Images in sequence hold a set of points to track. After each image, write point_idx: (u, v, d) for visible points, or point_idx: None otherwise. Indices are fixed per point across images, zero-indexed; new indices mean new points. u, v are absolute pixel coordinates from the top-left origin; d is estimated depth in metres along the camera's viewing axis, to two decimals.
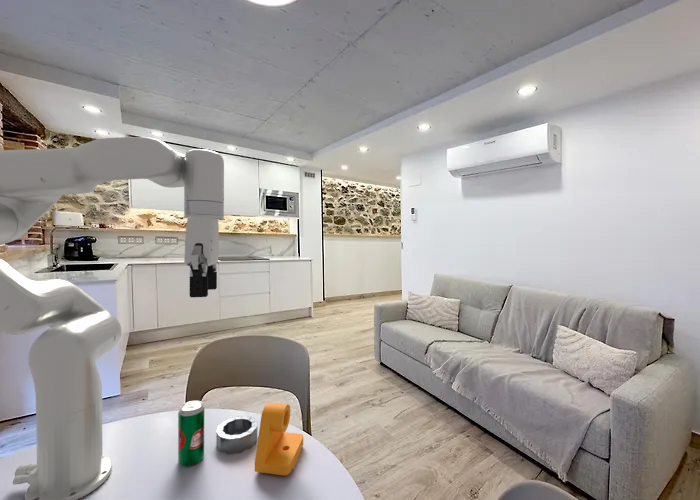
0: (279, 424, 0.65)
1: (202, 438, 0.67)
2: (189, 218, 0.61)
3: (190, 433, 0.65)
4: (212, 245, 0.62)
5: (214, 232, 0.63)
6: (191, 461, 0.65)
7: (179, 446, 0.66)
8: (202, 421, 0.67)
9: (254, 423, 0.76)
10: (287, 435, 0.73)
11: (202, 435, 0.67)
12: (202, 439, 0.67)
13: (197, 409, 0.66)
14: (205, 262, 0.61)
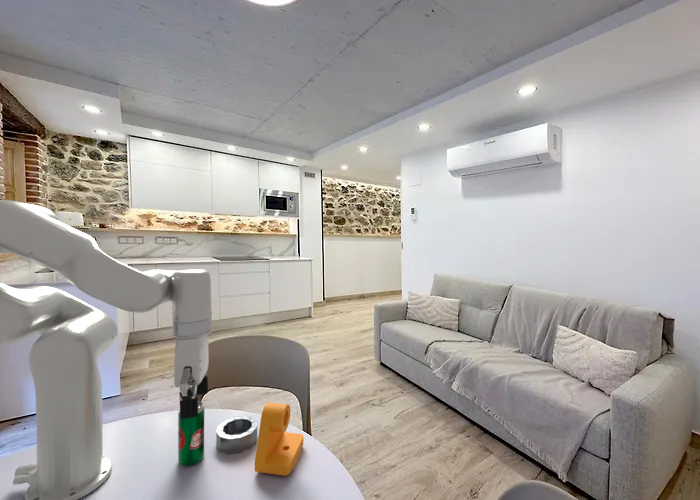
0: (279, 424, 0.65)
1: (202, 438, 0.67)
2: (177, 342, 0.63)
3: (191, 433, 0.65)
4: (201, 364, 0.64)
5: (202, 349, 0.65)
6: (191, 461, 0.65)
7: (179, 446, 0.66)
8: (202, 421, 0.67)
9: (254, 423, 0.76)
10: (287, 435, 0.73)
11: (202, 435, 0.67)
12: (202, 439, 0.67)
13: None
14: (194, 383, 0.63)
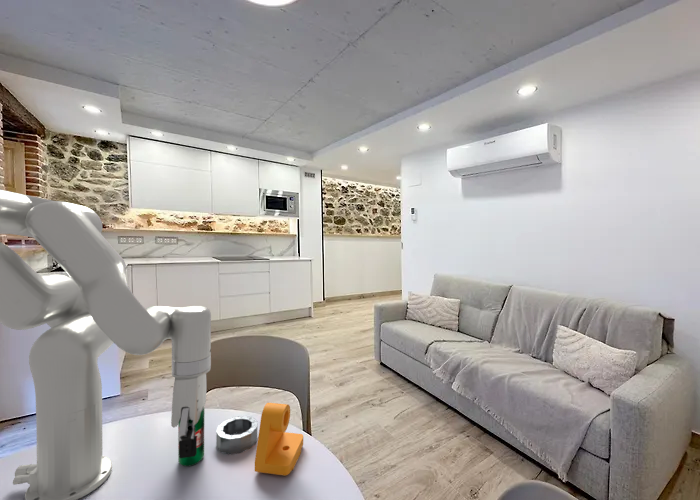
0: (279, 424, 0.65)
1: (202, 438, 0.67)
2: (176, 382, 0.63)
3: None
4: (198, 404, 0.64)
5: (201, 388, 0.65)
6: (191, 461, 0.65)
7: None
8: (202, 421, 0.67)
9: (254, 423, 0.76)
10: (287, 435, 0.73)
11: (202, 435, 0.67)
12: (202, 439, 0.67)
13: None
14: (193, 424, 0.64)
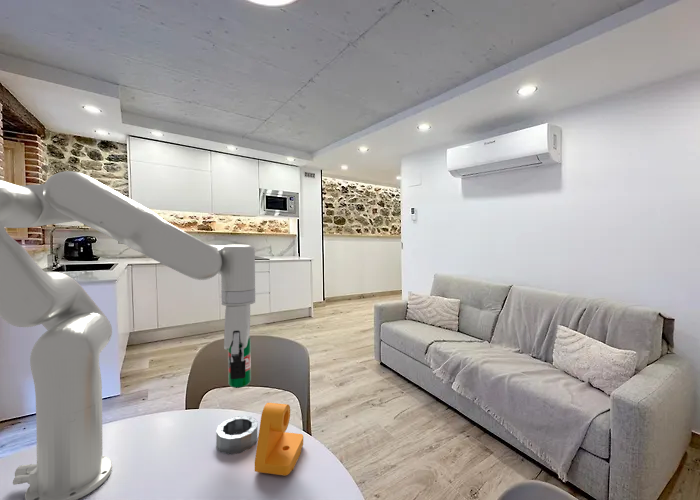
0: (279, 424, 0.65)
1: (249, 363, 0.73)
2: (227, 308, 0.69)
3: None
4: (247, 330, 0.70)
5: (248, 317, 0.72)
6: (241, 383, 0.72)
7: None
8: (249, 348, 0.74)
9: (254, 423, 0.76)
10: (287, 435, 0.73)
11: (249, 361, 0.74)
12: (249, 365, 0.74)
13: None
14: (242, 348, 0.71)
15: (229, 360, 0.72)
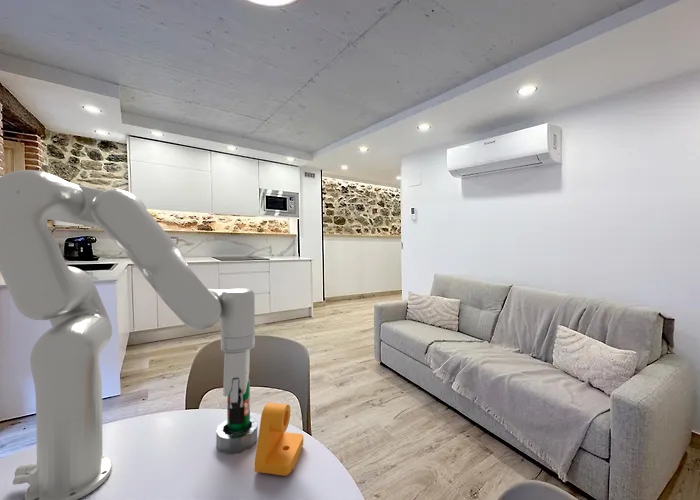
0: (279, 424, 0.65)
1: (248, 407, 0.74)
2: (227, 355, 0.69)
3: None
4: (246, 376, 0.71)
5: (247, 362, 0.72)
6: (240, 428, 0.72)
7: None
8: (248, 392, 0.74)
9: (254, 423, 0.76)
10: (287, 435, 0.73)
11: (248, 405, 0.74)
12: (248, 409, 0.74)
13: None
14: (241, 394, 0.71)
15: (228, 405, 0.72)
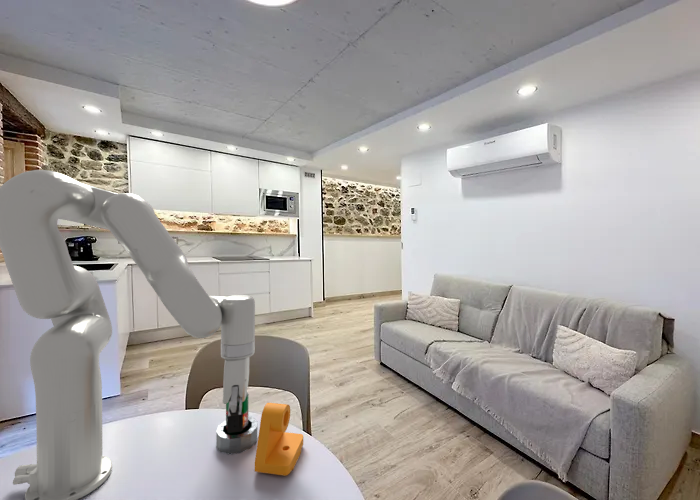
0: (279, 424, 0.65)
1: (247, 421, 0.74)
2: (227, 362, 0.69)
3: None
4: (246, 383, 0.71)
5: (247, 369, 0.72)
6: None
7: None
8: (247, 405, 0.74)
9: (254, 423, 0.76)
10: (287, 435, 0.73)
11: (247, 418, 0.74)
12: (247, 422, 0.74)
13: None
14: (240, 400, 0.70)
15: None
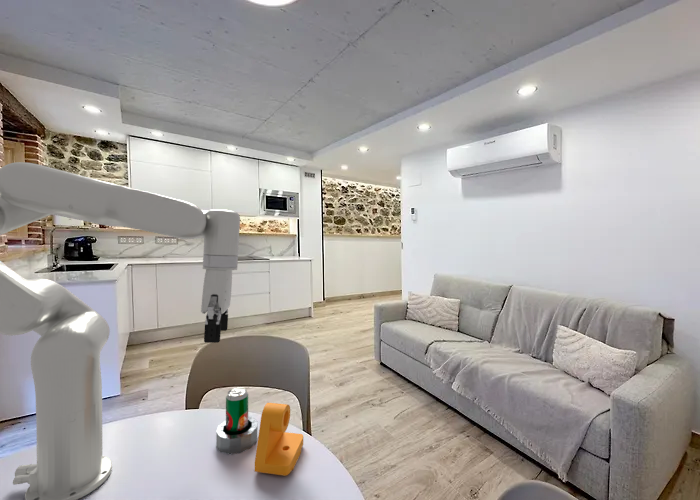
0: (279, 424, 0.65)
1: (247, 421, 0.74)
2: (207, 271, 0.68)
3: (238, 416, 0.72)
4: (226, 295, 0.70)
5: (228, 283, 0.71)
6: None
7: (227, 428, 0.72)
8: (247, 406, 0.74)
9: (254, 423, 0.76)
10: (287, 435, 0.73)
11: (247, 418, 0.74)
12: (247, 422, 0.74)
13: (243, 394, 0.73)
14: (219, 311, 0.69)
15: (227, 418, 0.72)
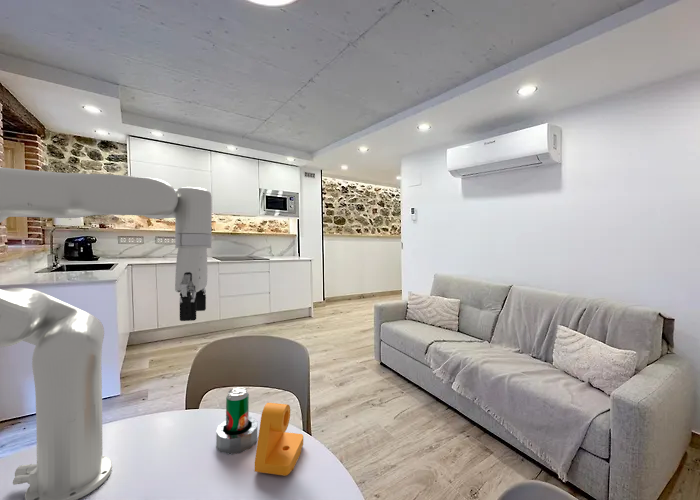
0: (279, 424, 0.65)
1: (247, 421, 0.74)
2: (179, 250, 0.68)
3: (238, 416, 0.72)
4: (200, 273, 0.69)
5: (202, 261, 0.70)
6: None
7: (227, 428, 0.72)
8: (247, 406, 0.74)
9: (254, 423, 0.76)
10: (287, 435, 0.73)
11: (247, 418, 0.74)
12: (247, 422, 0.74)
13: (243, 394, 0.73)
14: (194, 289, 0.68)
15: (227, 418, 0.72)
